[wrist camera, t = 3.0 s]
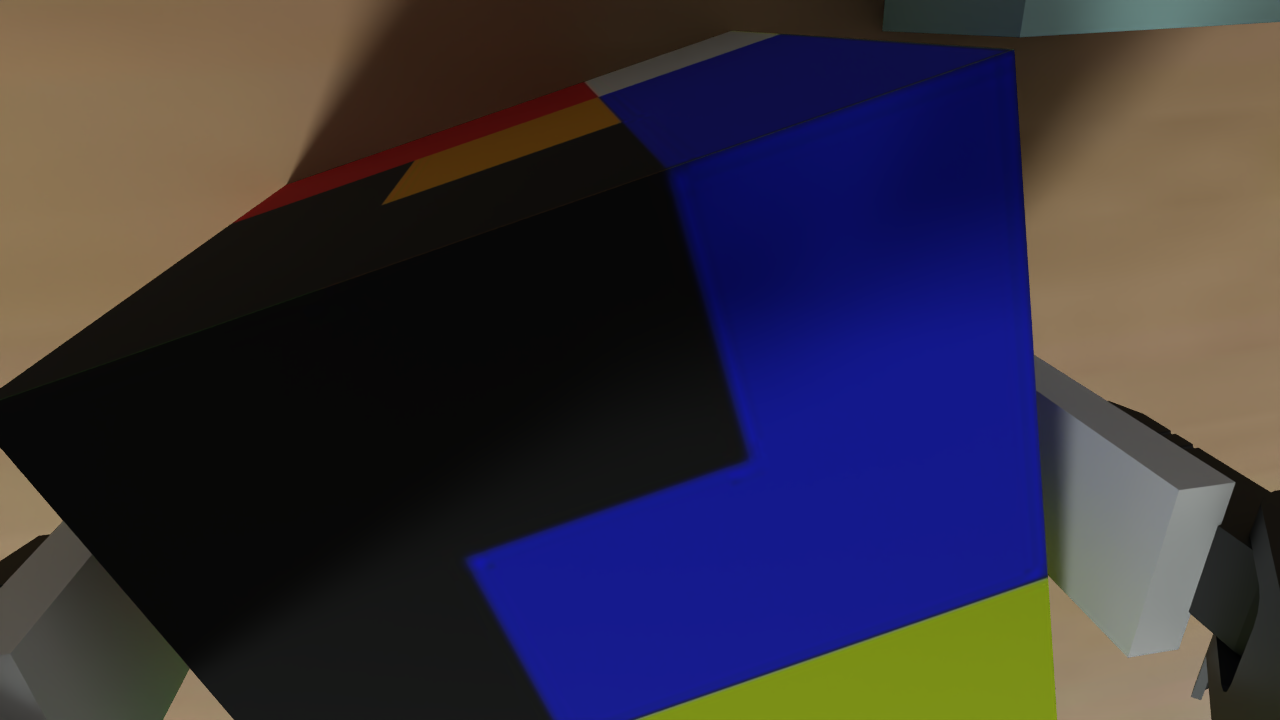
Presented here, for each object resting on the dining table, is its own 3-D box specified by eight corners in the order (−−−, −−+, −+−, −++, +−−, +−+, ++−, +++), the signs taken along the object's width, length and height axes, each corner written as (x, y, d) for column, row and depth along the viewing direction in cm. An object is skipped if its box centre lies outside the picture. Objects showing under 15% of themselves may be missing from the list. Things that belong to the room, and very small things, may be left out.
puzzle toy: (731, 30, 16) (1013, 49, 7) (818, 413, 20) (1057, 734, 11) (287, 183, 16) (-33, 410, 7) (472, 532, 20) (432, 950, 11)
